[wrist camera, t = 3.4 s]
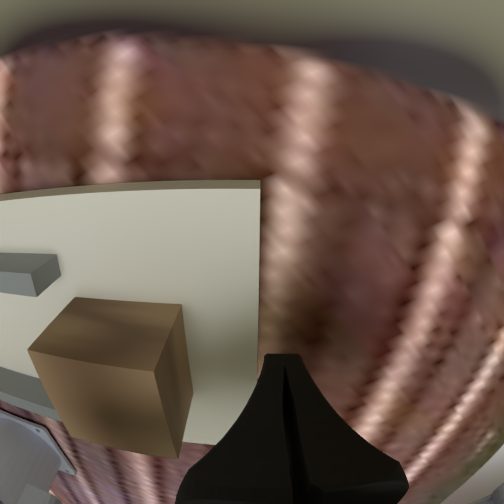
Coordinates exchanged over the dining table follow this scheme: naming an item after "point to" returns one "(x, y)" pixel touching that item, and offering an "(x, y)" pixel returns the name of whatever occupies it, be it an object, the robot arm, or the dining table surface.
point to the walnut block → (118, 373)
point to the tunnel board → (138, 279)
